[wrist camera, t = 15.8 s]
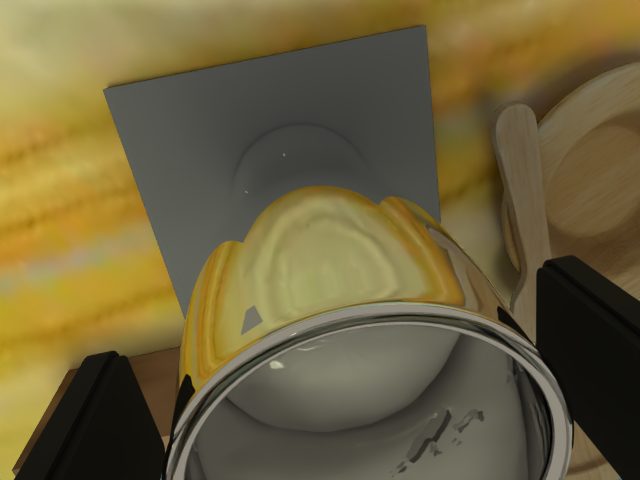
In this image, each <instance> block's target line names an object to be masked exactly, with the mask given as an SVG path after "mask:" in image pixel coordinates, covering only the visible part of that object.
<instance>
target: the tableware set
mask: <svg viewBox="0 0 640 480" xmlns="http://www.w3.org/2000/svg"><path fill="white" fill-rule="evenodd" d="M490 132H491V138H492V143H493V147H494V151H495V155H496V159H497V163H498V167H499V171H500V174H501V178H502V182H503V186H504V194H503V200H502V208H501V226H502V234H503V239H504V244H505V247H506V250H507V252H508V255H509V258H510V260H511V262H512V264H513V266H514V267H515V268H516V270H517V271H518V273H519V274H520V275H521V277H520V280H519V282H518V284H517V286H516V288H515V290H514V292H513V294H512V297H511V301H510V311H511V313H512V314H513V316H514V317H515V318H516V320H517V321H518V323H519V324H520V326H521V327H522V329H523V330H524V332H525V333H526V334H527V336H528V337H529V339H530V340H531V341H532V342H534V343H536V273H537V270H538V269H539V268H542V267H543V263H544V262H545V261H546V260H549V259H553V258H558V257H563V256H568V255H574V256H576V257H577V258H579V259H580V260H582V261H583V262H584V263H586V264H587V265H589V266H590V267H592V268H593V269H594V270H596V271H597V272H599V273H600V274H602V275H603V276H604V277H606V278H607V279H609V280H610V281H612V282H613V283H614V284H616V285H617V286H619V287H620V288H622V289H623V290H624V291H626V292H627V293H629V294H630V295H631V296H633V297H634V298H636V299H639V298H640V61H637V62H633V63H629V64H626V65H623V66H620V67H617V68H614V69H612V70H609V71H607V72H604V73H602V74H600V75H599V76H597V77H595V78H593V79H591V80H589V81H588V82H586V83H584V84H582V85H581V86H580V87H578V88H577V89H575V90H574V91H572V92H571V93H570V94H568V95H567V96H566V97H565V98H564V99H562V100H561V101H560V102H559V103H558V104H556V105H555V106H554V107H553V108H552V109H551V110H550V111H549V112H548V113H547V114H546V115H545V117H544V118H543V119H542V120H541V121H540V122H539V123H538V124H537V121H536V116H535V114H534V112H533V110H532V109H531V108H530V107H529V106H527V105H525V104H523V103H519V102H510V103H506V104H504V105H502V106H500V107H499V108H498V109H497V110H496V111H495V113H494V114H493V116H492V119H491V127H490ZM618 479H620V476H619V475H618V474H617V473H616V471H615V470H614V469H613V468H612V466H611V465H610V464H609V463H608V461H607V460H606V459H605V458H604V456H603V455H602V454H601V453H600V451H599V450H598V449H597V448H596V447H595V445H594V444H593V443H592V442H591V440H590V439H589V438H588V437H587V435H586V434H585V433H584V432H583V430H582V429H581V428H580V427H579V425H578V424H577V423H576V422H575V420H574V445H573V452H572V456H571V461H570V465H569V468H568V471H567V474H566V476H565V479H564V480H618Z"/></svg>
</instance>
